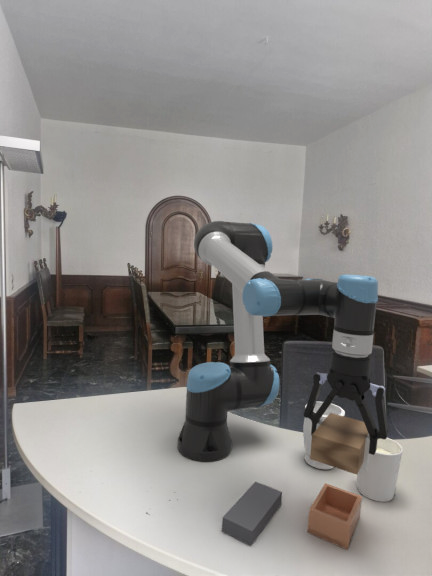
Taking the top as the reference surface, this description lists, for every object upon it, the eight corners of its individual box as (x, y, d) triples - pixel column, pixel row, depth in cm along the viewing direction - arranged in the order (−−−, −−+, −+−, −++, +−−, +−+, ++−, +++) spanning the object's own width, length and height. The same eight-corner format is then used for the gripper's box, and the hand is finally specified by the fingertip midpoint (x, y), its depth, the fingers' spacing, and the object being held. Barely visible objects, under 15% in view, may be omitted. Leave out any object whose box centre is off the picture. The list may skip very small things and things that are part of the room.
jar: (341, 475, 102) (347, 419, 100) (300, 468, 104) (305, 413, 102) (337, 454, 112) (342, 403, 111) (300, 449, 114) (304, 398, 113)
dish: (307, 532, 81) (309, 509, 80) (323, 503, 90) (325, 483, 89) (347, 549, 77) (350, 525, 76) (359, 518, 86) (362, 496, 85)
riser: (221, 531, 79) (222, 517, 79) (254, 493, 92) (255, 481, 92) (251, 545, 76) (252, 531, 76) (281, 504, 89) (282, 492, 89)
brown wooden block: (309, 458, 78) (312, 434, 78) (328, 434, 89) (330, 412, 89) (357, 474, 74) (359, 449, 73) (370, 446, 85) (373, 424, 84)
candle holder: (393, 510, 89) (399, 459, 88) (349, 493, 94) (354, 445, 93) (399, 488, 98) (405, 442, 96) (358, 474, 103) (363, 430, 101)
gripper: (292, 346, 82) (284, 450, 84) (409, 368, 70) (395, 487, 73) (304, 339, 88) (296, 436, 90) (413, 359, 77) (401, 469, 79)
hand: (340, 459), depth 82 cm, fingers closed on brown wooden block, 9 cm apart
